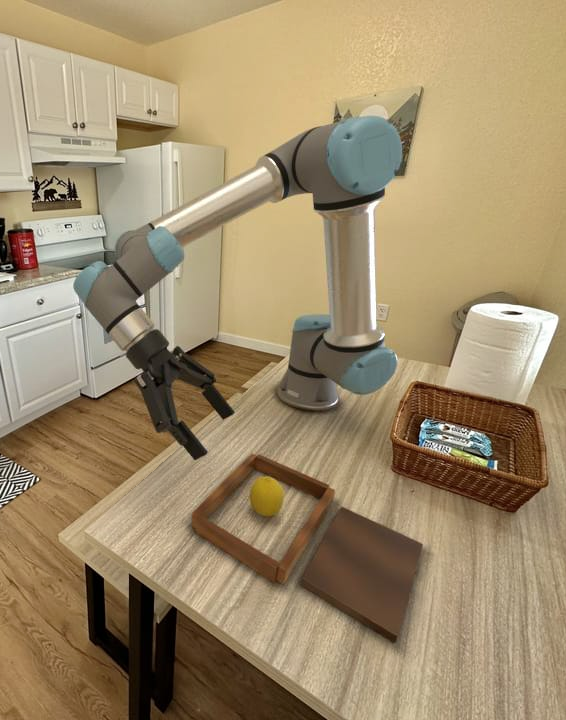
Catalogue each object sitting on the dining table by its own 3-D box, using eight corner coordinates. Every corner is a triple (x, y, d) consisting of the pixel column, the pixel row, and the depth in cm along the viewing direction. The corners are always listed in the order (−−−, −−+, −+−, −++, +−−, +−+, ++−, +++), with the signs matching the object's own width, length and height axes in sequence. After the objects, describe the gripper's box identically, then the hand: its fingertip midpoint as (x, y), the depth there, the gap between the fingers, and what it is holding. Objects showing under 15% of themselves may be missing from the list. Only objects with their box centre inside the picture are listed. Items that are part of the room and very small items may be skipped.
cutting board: (340, 512, 68) (341, 506, 67) (420, 550, 60) (423, 543, 60) (300, 584, 56) (301, 577, 55) (394, 643, 48) (397, 636, 48)
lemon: (282, 528, 65) (288, 492, 62) (248, 524, 66) (252, 487, 63) (278, 504, 70) (284, 469, 67) (247, 500, 71) (251, 466, 68)
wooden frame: (251, 463, 81) (253, 451, 79) (333, 500, 70) (336, 488, 69) (189, 528, 65) (189, 515, 64) (281, 588, 55) (284, 573, 54)
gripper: (159, 331, 80) (224, 410, 79) (85, 378, 60) (170, 485, 59) (183, 309, 75) (252, 393, 74) (111, 353, 56) (204, 469, 55)
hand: (216, 434), depth 67 cm, fingers open, 13 cm apart
